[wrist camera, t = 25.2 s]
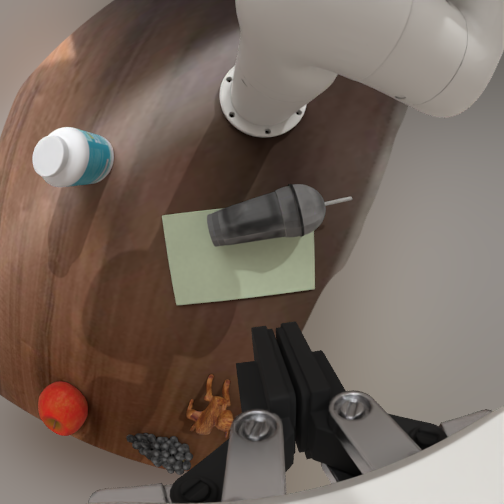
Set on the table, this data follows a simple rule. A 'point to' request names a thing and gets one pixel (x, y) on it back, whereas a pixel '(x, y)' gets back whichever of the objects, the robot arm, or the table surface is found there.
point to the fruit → (163, 451)
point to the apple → (62, 408)
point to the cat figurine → (212, 411)
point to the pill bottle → (73, 157)
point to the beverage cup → (270, 216)
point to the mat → (233, 263)
